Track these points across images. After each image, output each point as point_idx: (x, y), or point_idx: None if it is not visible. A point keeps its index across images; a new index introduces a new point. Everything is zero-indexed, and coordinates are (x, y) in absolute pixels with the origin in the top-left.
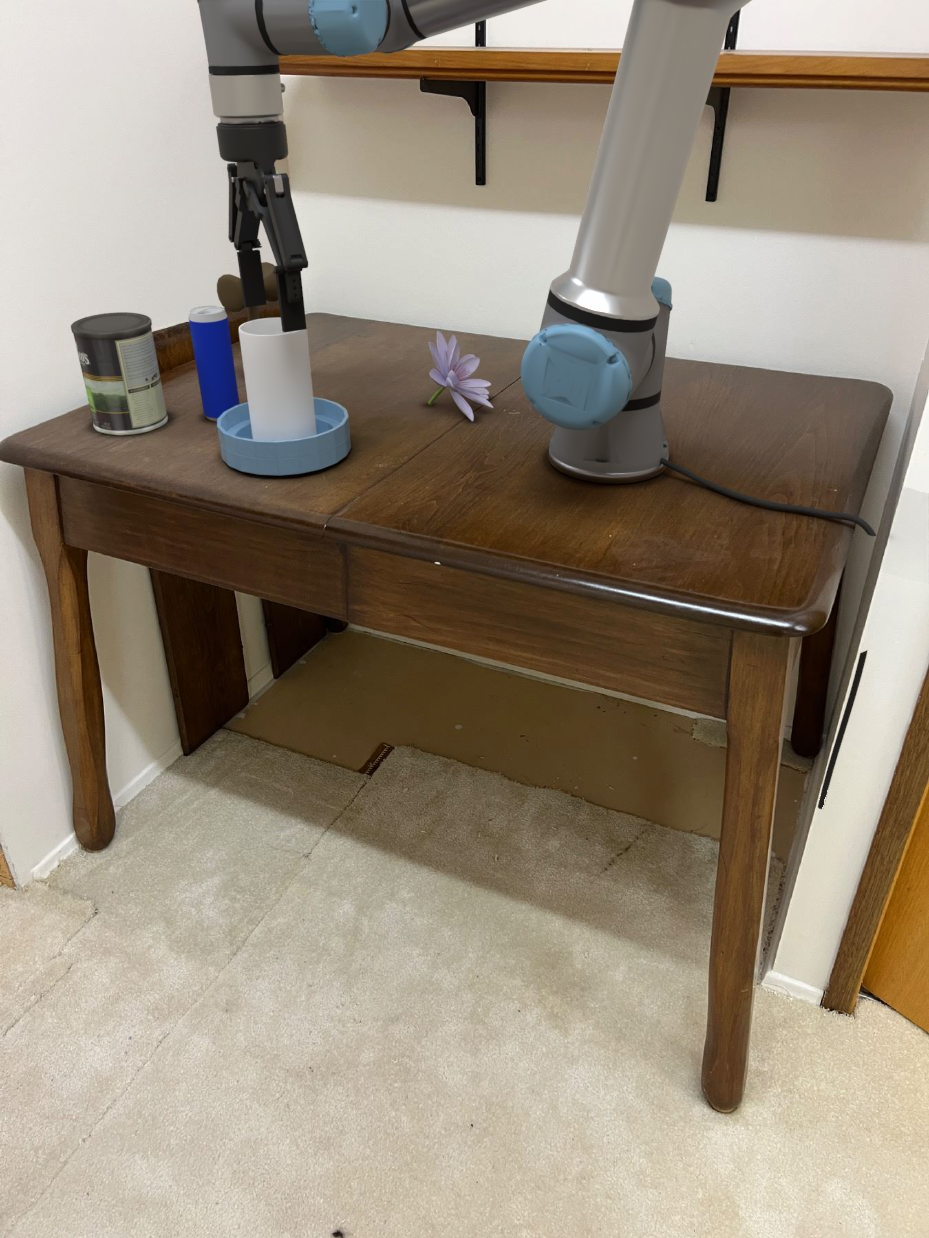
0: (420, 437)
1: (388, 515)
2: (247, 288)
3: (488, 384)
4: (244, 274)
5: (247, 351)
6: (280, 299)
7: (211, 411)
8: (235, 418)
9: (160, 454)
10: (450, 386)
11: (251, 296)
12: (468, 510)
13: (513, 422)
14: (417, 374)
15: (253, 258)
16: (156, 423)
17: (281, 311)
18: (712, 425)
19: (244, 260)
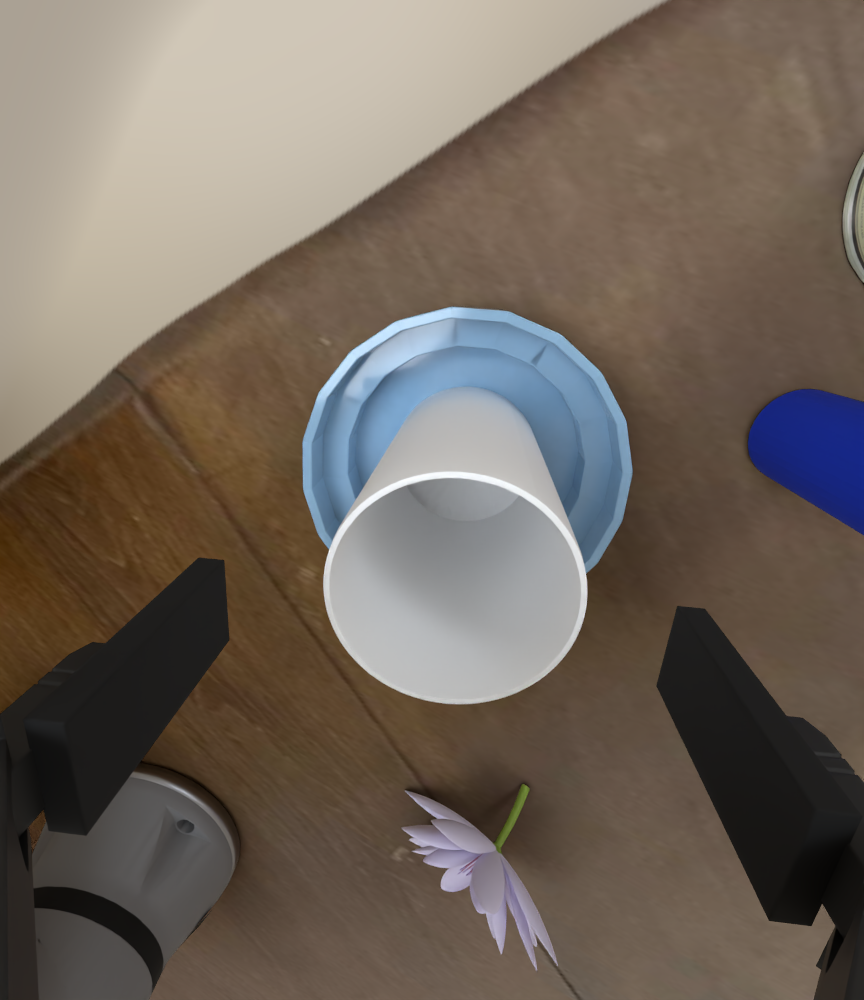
0: (391, 691)
1: (100, 475)
2: (705, 673)
3: (445, 885)
4: (741, 719)
5: (427, 453)
6: (125, 630)
7: (785, 401)
8: (600, 401)
9: (662, 189)
10: (422, 828)
11: (686, 660)
12: (69, 587)
13: (363, 830)
14: (697, 856)
15: (761, 842)
16: (854, 246)
17: (162, 599)
18: (202, 984)
19: (777, 792)
